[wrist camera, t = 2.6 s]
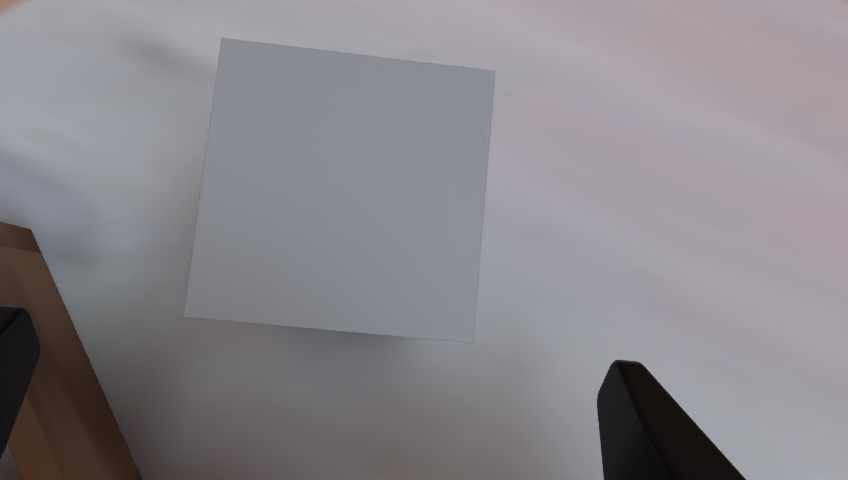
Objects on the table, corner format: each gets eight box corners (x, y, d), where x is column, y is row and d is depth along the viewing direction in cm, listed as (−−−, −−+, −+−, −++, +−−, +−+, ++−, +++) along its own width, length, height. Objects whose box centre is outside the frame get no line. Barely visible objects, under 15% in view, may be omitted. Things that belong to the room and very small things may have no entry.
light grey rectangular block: (422, 330, 20) (472, 343, 10) (276, 317, 20) (183, 317, 10) (435, 188, 21) (495, 71, 11) (293, 173, 20) (221, 37, 11)
